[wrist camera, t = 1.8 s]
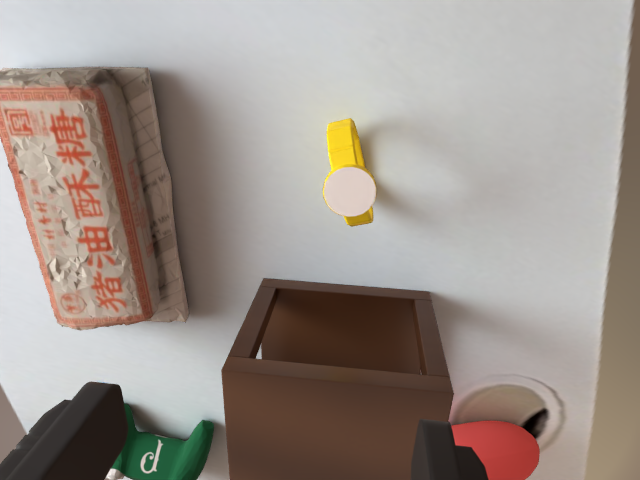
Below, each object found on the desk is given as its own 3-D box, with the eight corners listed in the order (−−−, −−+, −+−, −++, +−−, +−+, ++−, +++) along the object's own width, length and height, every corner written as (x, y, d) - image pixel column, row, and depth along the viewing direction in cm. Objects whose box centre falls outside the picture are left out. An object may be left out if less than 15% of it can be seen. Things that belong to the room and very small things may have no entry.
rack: (263, 277, 32) (208, 398, 21) (429, 291, 31) (461, 424, 20) (266, 419, 38) (224, 572, 27) (407, 435, 37) (422, 599, 26)
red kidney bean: (421, 386, 36) (400, 463, 32) (543, 416, 32) (535, 508, 28) (428, 414, 40) (410, 487, 36) (540, 444, 35) (532, 530, 32)
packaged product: (-65, 71, 23) (112, 69, 22) (4, 67, 28) (155, 65, 27) (30, 346, 31) (167, 354, 30) (72, 308, 35) (193, 314, 34)
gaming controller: (125, 400, 41) (103, 470, 39) (109, 401, 37) (83, 478, 35) (221, 420, 41) (203, 492, 39) (214, 423, 37) (193, 502, 35)
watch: (320, 119, 27) (307, 138, 22) (364, 108, 26) (363, 125, 21) (342, 209, 29) (335, 246, 24) (383, 200, 29) (386, 237, 23)
